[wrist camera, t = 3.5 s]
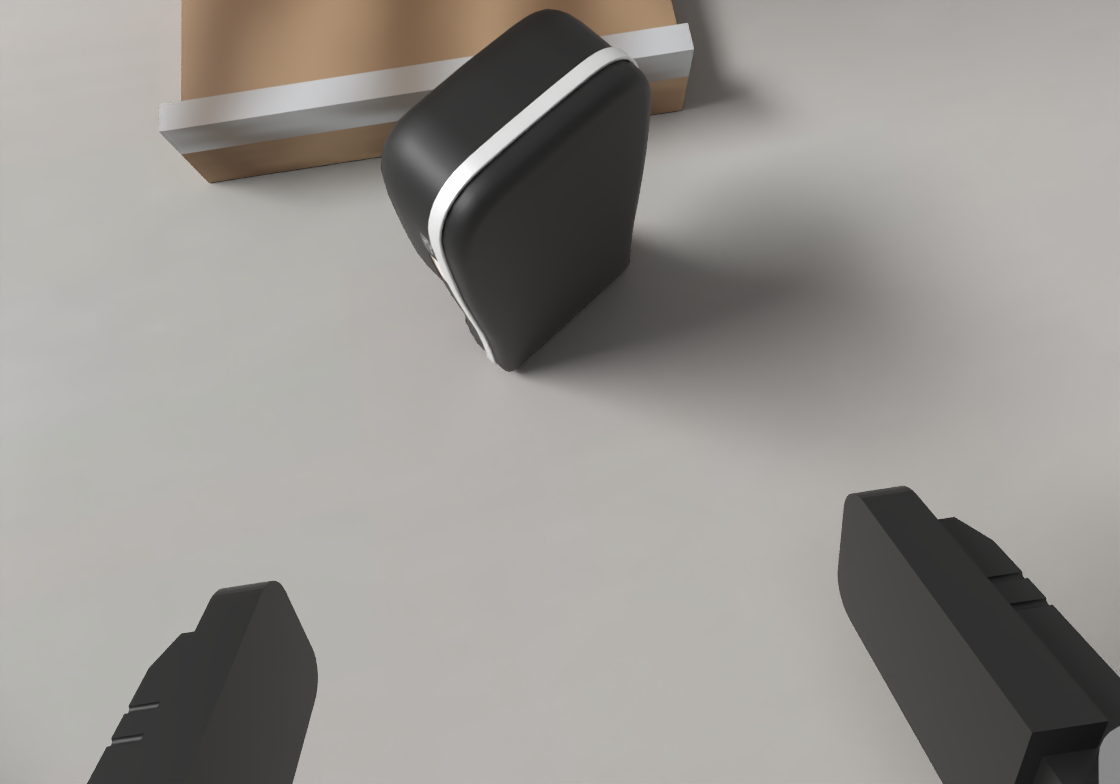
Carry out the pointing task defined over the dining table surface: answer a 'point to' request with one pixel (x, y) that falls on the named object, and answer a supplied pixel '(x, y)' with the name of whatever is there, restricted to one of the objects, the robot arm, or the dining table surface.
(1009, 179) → the dining table surface
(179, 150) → the shelf
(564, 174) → the battery charger
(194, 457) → the dining table surface
